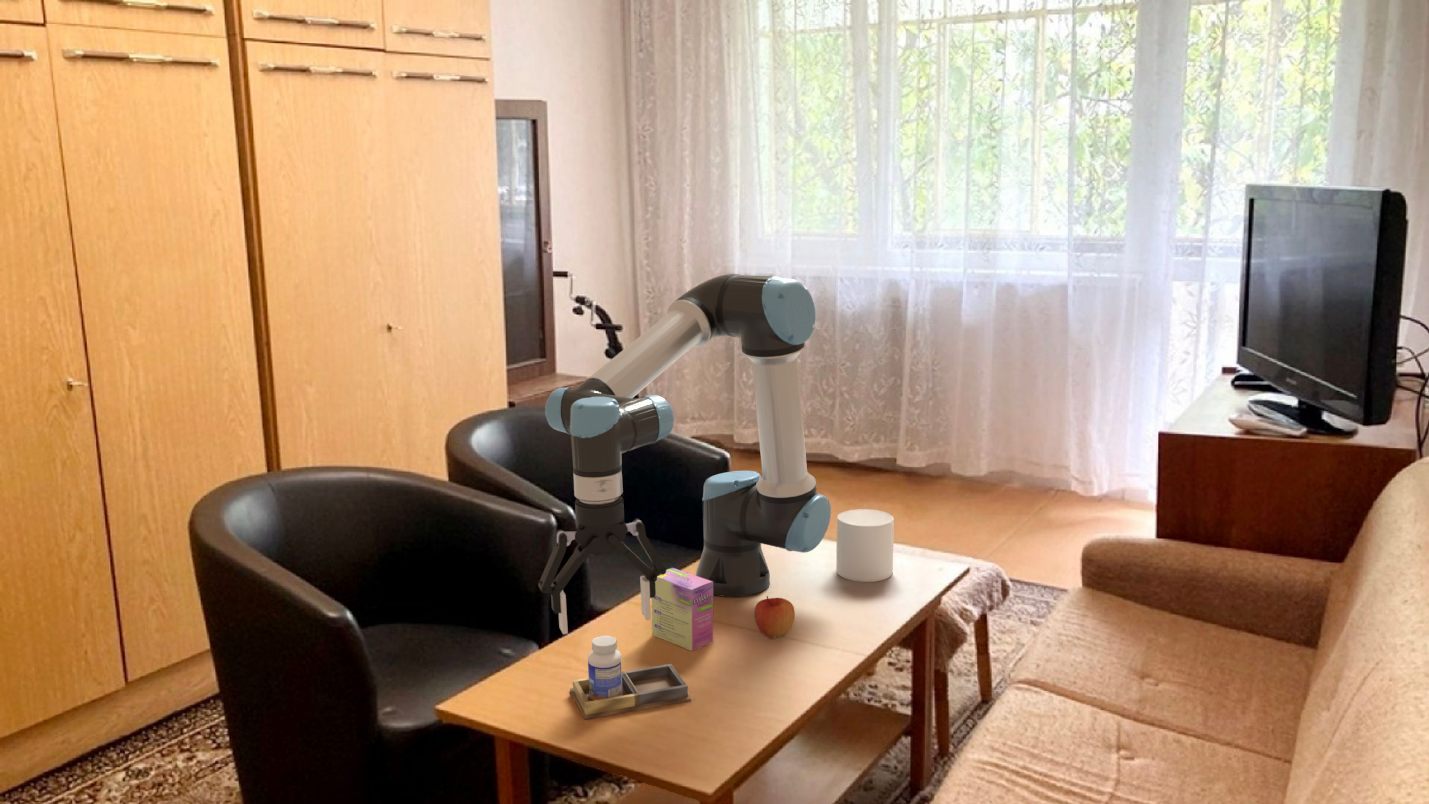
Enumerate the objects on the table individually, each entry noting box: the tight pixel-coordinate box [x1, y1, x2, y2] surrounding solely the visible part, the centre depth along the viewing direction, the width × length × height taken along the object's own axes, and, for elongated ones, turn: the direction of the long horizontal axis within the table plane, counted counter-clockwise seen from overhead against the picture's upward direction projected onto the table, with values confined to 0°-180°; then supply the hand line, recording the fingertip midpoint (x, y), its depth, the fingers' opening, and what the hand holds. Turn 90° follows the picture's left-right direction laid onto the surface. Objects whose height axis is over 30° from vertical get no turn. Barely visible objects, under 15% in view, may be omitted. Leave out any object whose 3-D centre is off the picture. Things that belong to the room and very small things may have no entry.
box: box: [651, 567, 714, 652], centre depth 206 cm, size 10×6×12 cm, turn 47°
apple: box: [754, 596, 796, 640], centre depth 207 cm, size 7×7×8 cm
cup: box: [835, 508, 895, 583], centre depth 238 cm, size 12×12×12 cm
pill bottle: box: [587, 635, 623, 701], centre depth 184 cm, size 5×5×10 cm
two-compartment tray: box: [569, 663, 692, 720], centre depth 186 cm, size 18×10×2 cm, turn 110°
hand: (605, 623), depth 182 cm, fingers open, 13 cm apart
